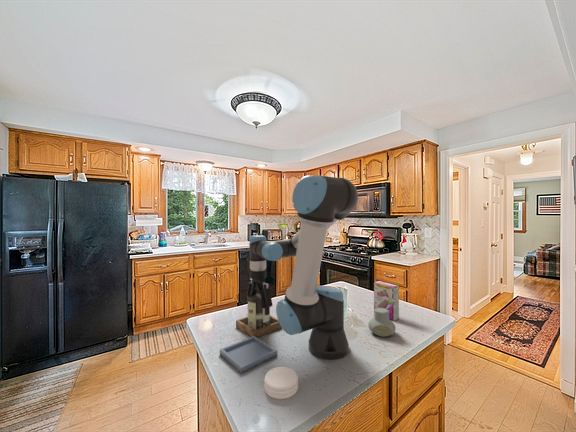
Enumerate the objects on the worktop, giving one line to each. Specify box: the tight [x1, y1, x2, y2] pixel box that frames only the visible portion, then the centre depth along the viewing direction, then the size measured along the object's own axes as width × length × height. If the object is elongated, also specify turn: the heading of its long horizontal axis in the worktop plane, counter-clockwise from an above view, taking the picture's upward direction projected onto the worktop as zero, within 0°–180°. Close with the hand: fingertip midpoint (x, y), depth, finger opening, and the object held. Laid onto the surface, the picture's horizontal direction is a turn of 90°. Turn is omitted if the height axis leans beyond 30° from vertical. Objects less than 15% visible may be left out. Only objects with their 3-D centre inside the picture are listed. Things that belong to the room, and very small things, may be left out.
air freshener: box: [368, 308, 396, 338], centre depth 106 cm, size 11×8×10 cm
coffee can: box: [246, 292, 271, 330], centre depth 113 cm, size 10×10×14 cm
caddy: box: [235, 315, 282, 339], centre depth 113 cm, size 15×15×3 cm
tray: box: [219, 336, 278, 375], centre depth 90 cm, size 15×15×2 cm
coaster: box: [263, 366, 299, 400], centre depth 73 cm, size 10×10×4 cm
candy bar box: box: [373, 280, 400, 322], centre depth 123 cm, size 11×5×16 cm, turn 34°
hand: (258, 318), depth 113 cm, fingers closed on coffee can, 10 cm apart
